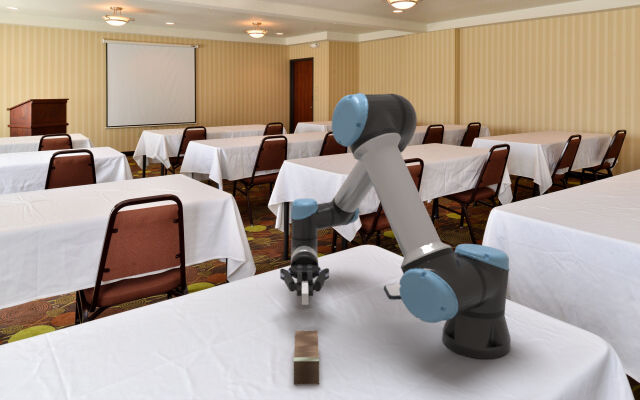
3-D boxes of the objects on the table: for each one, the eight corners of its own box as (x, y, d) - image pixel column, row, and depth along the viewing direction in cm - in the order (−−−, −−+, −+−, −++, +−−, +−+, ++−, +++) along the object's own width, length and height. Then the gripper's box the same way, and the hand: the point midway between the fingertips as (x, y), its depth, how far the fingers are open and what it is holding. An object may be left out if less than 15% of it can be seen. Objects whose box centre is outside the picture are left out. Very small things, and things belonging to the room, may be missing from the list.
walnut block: (317, 330, 111) (319, 360, 98) (317, 351, 112) (319, 384, 99) (295, 330, 111) (293, 361, 98) (295, 351, 112) (293, 384, 99)
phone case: (389, 301, 140) (444, 299, 141) (389, 296, 140) (444, 293, 141) (383, 289, 149) (435, 287, 150) (383, 284, 149) (435, 282, 150)
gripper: (328, 276, 137) (333, 314, 114) (280, 277, 136) (276, 314, 113) (328, 250, 135) (333, 283, 112) (280, 250, 135) (276, 283, 112)
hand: (305, 299), depth 113 cm, fingers closed
